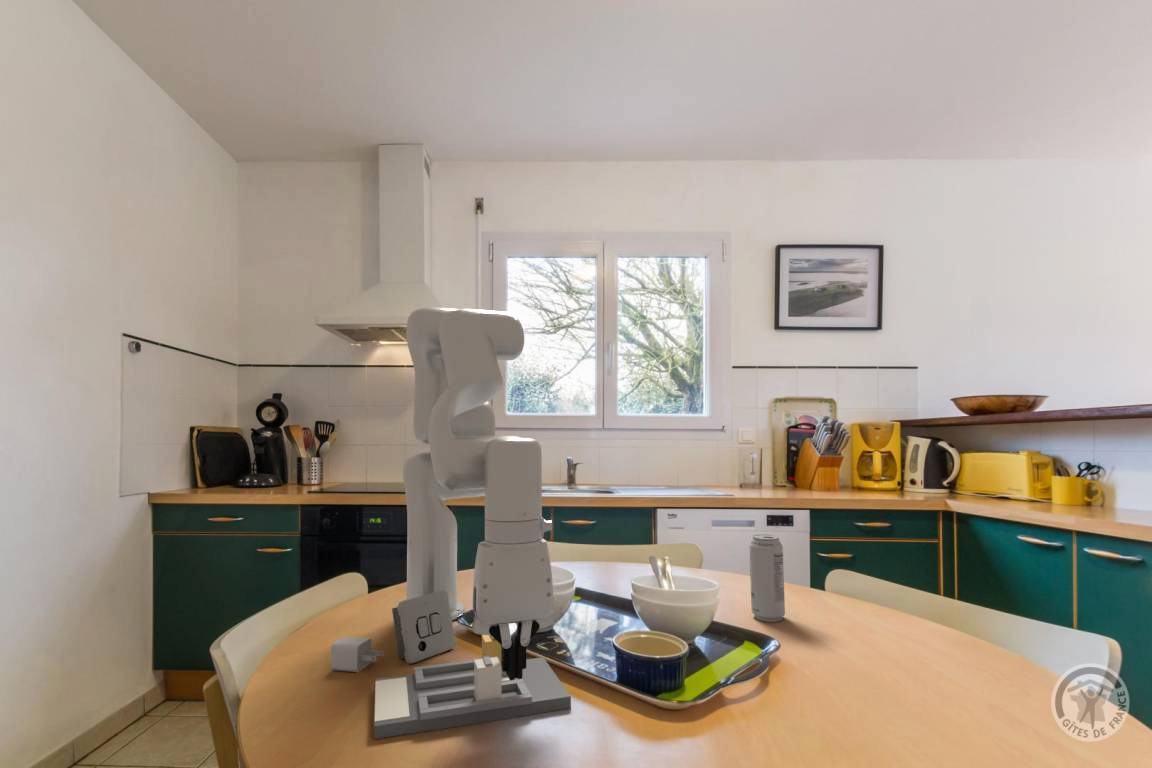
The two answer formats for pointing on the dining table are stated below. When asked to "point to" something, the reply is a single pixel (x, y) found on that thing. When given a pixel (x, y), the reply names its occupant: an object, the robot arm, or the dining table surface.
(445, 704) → the switch board
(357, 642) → the usb wall charger
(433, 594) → the electrical switch
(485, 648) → the yellow block with tab
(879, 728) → the dining table surface
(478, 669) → the white tab
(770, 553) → the energy drink can
